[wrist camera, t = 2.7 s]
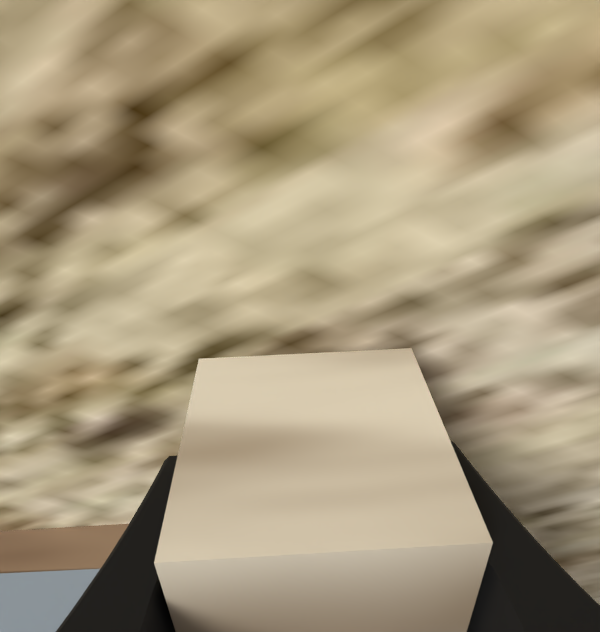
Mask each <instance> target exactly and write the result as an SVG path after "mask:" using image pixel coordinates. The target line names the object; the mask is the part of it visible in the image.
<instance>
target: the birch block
mask: <svg viewBox="0 0 600 632" xmlns="http://www.w3.org/2000/svg"><path fill="white" fill-rule="evenodd" d="M492 544H493V542H492V539H491V537H490V534H489V532H488V530H487V527H486V525H485V522H484V520H483V518H482V515H481V513H480V511H479V508H478V506H477V503H476V501H475V499H474V496H473V494H472V491H471V489H470V487H469V484H468V482H467V480H466V477H465V475H464V472H463V470H462V468H461V465H460V463H459V460H458V458H457V456H456V453H455V451H454V449H453V446H452V444H451V441H450V439H449V437H448V434H447V432H446V429H445V427H444V425H443V422H442V420H441V418H440V415H439V413H438V410H437V408H436V406H435V403H434V401H433V398H432V396H431V394H430V391H429V389H428V387H427V384H426V382H425V379H424V377H423V375H422V372H421V370H420V368H419V365H418V363H417V360H416V358H415V356H414V353H413V351H412V348H406V349H386V350H366V351H346V352H326V353H306V354H286V355H266V356H246V357H226V358H206V359H199V361H198V366H197V370H196V375H195V379H194V384H193V388H192V393H191V397H190V402H189V406H188V411H187V416H186V420H185V425H184V429H183V434H182V438H181V443H180V447H179V452H178V456H177V461H176V466H175V470H174V475H173V479H172V484H171V488H170V493H169V497H168V502H167V506H166V511H165V515H164V520H163V525H162V529H161V534H160V538H159V543H158V547H157V552H156V556H155V561H154V565H155V568H156V571H157V574H158V577H159V580H160V584H161V587H162V590H163V593H164V596H165V599H166V603H167V606H168V609H169V612H170V615H171V619H172V622H173V625H174V628H175V631H176V632H467V629H468V625H469V622H470V619H471V615H472V612H473V609H474V605H475V602H476V598H477V595H478V592H479V588H480V585H481V581H482V578H483V575H484V571H485V568H486V565H487V561H488V558H489V554H490V551H491V548H492Z"/></svg>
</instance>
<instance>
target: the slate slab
mask: <svg viewBox="0 0 600 632" xmlns="http://www.w3.org/2000/svg"><path fill="white" fill-rule="evenodd" d="M99 570H100V569H84V570H63V571H42V572H21V573H0V632H56V631H57V629H58V628H59V627H60V625H61V624H62V622H63V621H64V620H65V618H66V617H67V616H68V614H69V613H70V612H71V610H72V609H73V607H74V606H75V605H76V603H77V602H78V600H79V599H80V597H81V596H82V595H83V593H84V592H85V590H86V589H87V587H88V586H89V584H90V583H91V582H92V580H93V579H94V577H95V576H96V574H97V573H98V572H99Z"/></svg>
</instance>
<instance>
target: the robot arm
mask: <svg viewBox="0 0 600 632" xmlns="http://www.w3.org/2000/svg"><path fill="white" fill-rule="evenodd" d="M451 444H452V446H453V449H454V451H455V453H456V456H457V458H458V460H459V463H460V465H461V468H462V470H463V472H464V475H465V477H466V480H467V482H468V484H469V487H470V489H471V491H472V494H473V496H474V499H475V501H476V503H477V506H478V508H479V511H480V513H481V515H482V518H483V520H484V522H485V525H486V527H487V530H488V532H489V534H490V537H491V539H492V542H493V544H492V548H491V551H490V554H489V558H488V561H487V565H486V568H485V571H484V575H483V578H482V581H481V585H480V588H479V592H478V595H477V598H476V602H475V605H474V609H473V612H472V615H471V619H470V622H469V625H468V629H467V632H600V605H599V604H598V603H596V602H595V601H594V600H593V599H592V598H591V597H590V596H589V595H588V594H587V593H586V592H585V591H584V590H583V589H582V588H581V587H580V586H579V585H578V584H577V583H576V582H575V581H574V580H573V579H572V578H571V577H570V576H569V575H568V574H567V572H566V571H565V570H564V569H563V568H562V567H561V566H560V565H559V564H558V563H557V562H556V561H555V560H554V559H553V558H552V557H551V556H550V555H549V554H548V553H547V552H546V551H545V549H544V548H543V547H542V546H541V545H540V544H539V543H538V542H537V541H536V540H535V539H534V538H533V536H532V535H531V534H530V533H529V532H528V531H527V530H526V529H525V527H524V526H523V525H522V524H521V523H520V522H519V521H518V520H517V518H516V517H515V516H514V515H513V514H512V513H511V512H510V511H509V509H508V508H507V507H506V506H505V505H504V504H503V502H502V501H501V500H500V499H499V498H498V496H497V495H496V494H495V493H494V492H493V490H492V489H491V488H490V487H489V486H488V484H487V483H486V482H485V481H484V480H483V478H482V477H481V476H480V475H479V473H478V472H477V471H476V470H475V468H474V467H473V466H472V465H471V463H470V462H469V461H468V460H467V458H466V457H465V456H464V455H463V453H462V452H461V451H460V449H459V448H458V447H457V446H456V445H455V444H454V443H453V442H452V441H451ZM176 461H177V456H169V457H168V458H167V459H166V460H165V461H164V463H163V465H162V467H161V469H160V471H159V473H158V475H157V476H156V478H155V480H154V482H153V484H152V486H151V487H150V489H149V491H148V493H147V495H146V496H145V498H144V500H143V502H142V503H141V505H140V507H139V508H138V510H137V512H136V513H135V515H134V517H133V518H132V520H131V522H130V523H129V525H128V527H127V528H126V530H125V531H124V533H123V534H122V536H121V538H120V539H119V541H118V542H117V544H116V546H115V547H114V549H113V550H112V552H111V554H110V555H109V557H108V558H107V560H106V561H105V563H104V564H103V566H102V567H101V569H100V570H99V572H98V573H97V574H96V576H95V577H94V579H93V580H92V582H91V583H90V584H89V586H88V587H87V589H86V590H85V592H84V593H83V595H82V596H81V597H80V599H79V600H78V602H77V603H76V605H75V606H74V607H73V609H72V610H71V612H70V613H69V614H68V616H67V617H66V618H65V620H64V621H63V622H62V624H61V625H60V627H59V628H58V629H57V631H56V632H176V631H175V628H174V625H173V622H172V619H171V615H170V612H169V609H168V606H167V603H166V599H165V596H164V593H163V590H162V587H161V584H160V580H159V577H158V574H157V571H156V568H155V565H154V561H155V556H156V552H157V547H158V543H159V538H160V534H161V529H162V525H163V520H164V515H165V511H166V506H167V502H168V497H169V493H170V488H171V484H172V479H173V475H174V470H175V466H176Z"/></svg>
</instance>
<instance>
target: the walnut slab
mask: <svg viewBox="0 0 600 632" xmlns="http://www.w3.org/2000/svg"><path fill="white" fill-rule="evenodd" d="M128 525H129V524H119V525H101V526H84V527H66V528H49V529H32V530H14V531H0V573H21V572H42V571H63V570H84V569H101V567H102V566H103V564H104V563H105V561H106V560H107V558H108V557H109V555H110V554H111V552H112V550H113V549H114V547H115V546H116V544H117V542H118V541H119V539H120V538H121V536H122V534H123V533H124V531H125V530H126V528H127V527H128Z"/></svg>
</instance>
